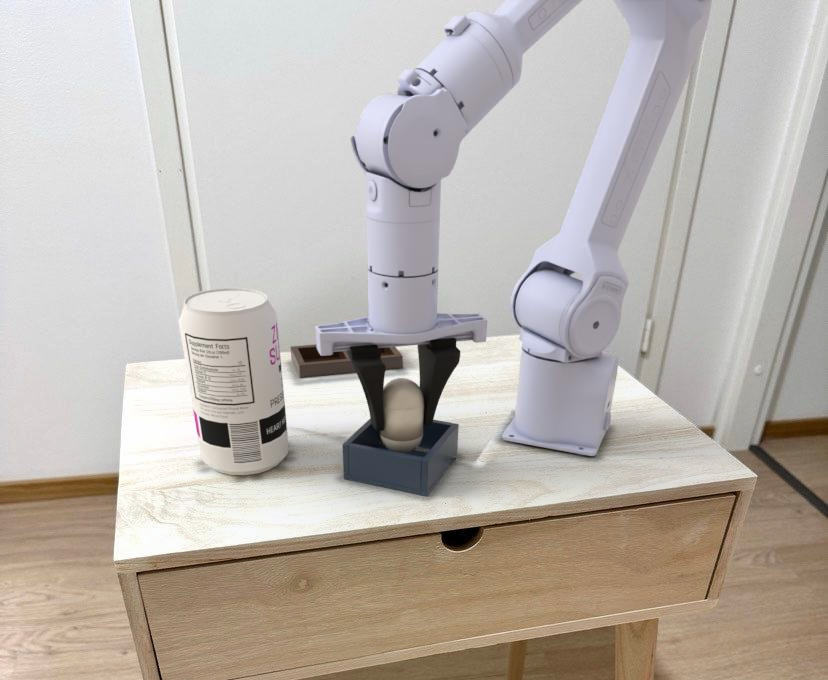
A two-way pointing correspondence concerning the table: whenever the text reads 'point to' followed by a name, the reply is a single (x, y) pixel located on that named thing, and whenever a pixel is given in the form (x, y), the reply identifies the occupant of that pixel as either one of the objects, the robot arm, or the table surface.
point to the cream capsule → (402, 415)
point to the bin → (400, 459)
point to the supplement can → (235, 379)
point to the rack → (336, 361)
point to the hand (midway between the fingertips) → (402, 423)
